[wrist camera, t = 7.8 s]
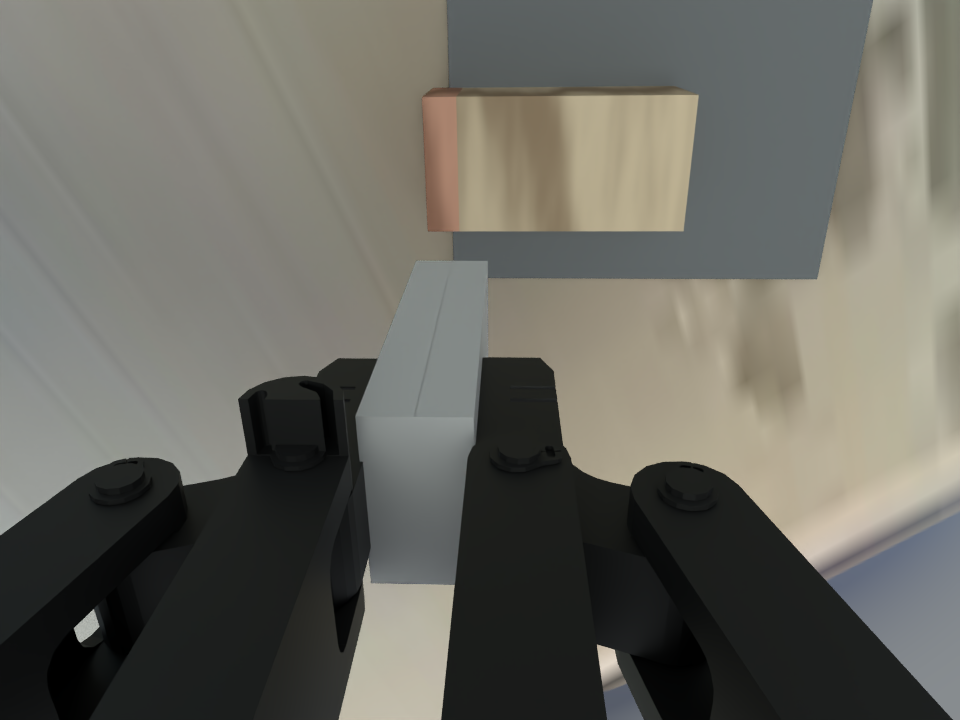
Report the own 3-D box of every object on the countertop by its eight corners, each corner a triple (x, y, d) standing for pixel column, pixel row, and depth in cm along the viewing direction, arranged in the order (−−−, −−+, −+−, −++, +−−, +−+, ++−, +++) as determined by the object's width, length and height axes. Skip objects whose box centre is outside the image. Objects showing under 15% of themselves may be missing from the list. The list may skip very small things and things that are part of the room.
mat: (454, 275, 40) (454, 277, 40) (447, -2, 34) (447, -2, 34) (814, 276, 40) (817, 279, 39) (870, -7, 34) (874, -7, 33)
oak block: (427, 231, 34) (683, 231, 33) (422, 97, 31) (698, 94, 31) (437, 207, 38) (662, 206, 38) (433, 87, 36) (674, 85, 35)
